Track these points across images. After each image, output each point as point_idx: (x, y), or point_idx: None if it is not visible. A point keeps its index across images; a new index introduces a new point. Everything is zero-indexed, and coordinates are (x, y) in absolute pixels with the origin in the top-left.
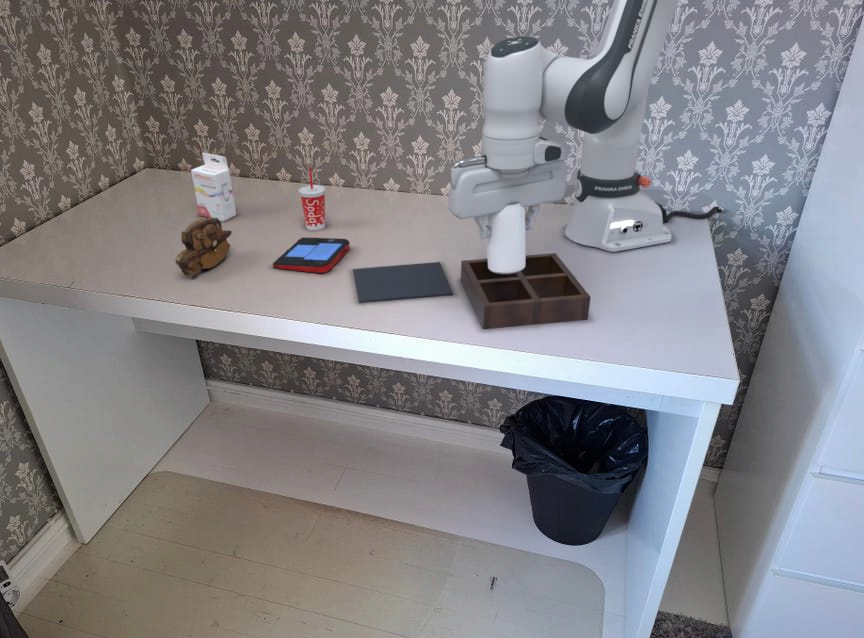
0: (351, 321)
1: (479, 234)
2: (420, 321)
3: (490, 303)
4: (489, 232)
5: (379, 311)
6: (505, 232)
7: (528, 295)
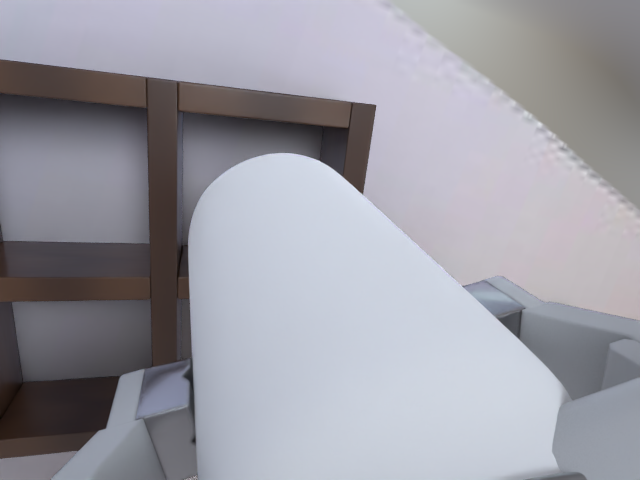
0: (611, 228)
1: None
2: (482, 191)
3: (347, 121)
4: (486, 301)
5: (543, 260)
6: (412, 253)
7: (178, 161)
